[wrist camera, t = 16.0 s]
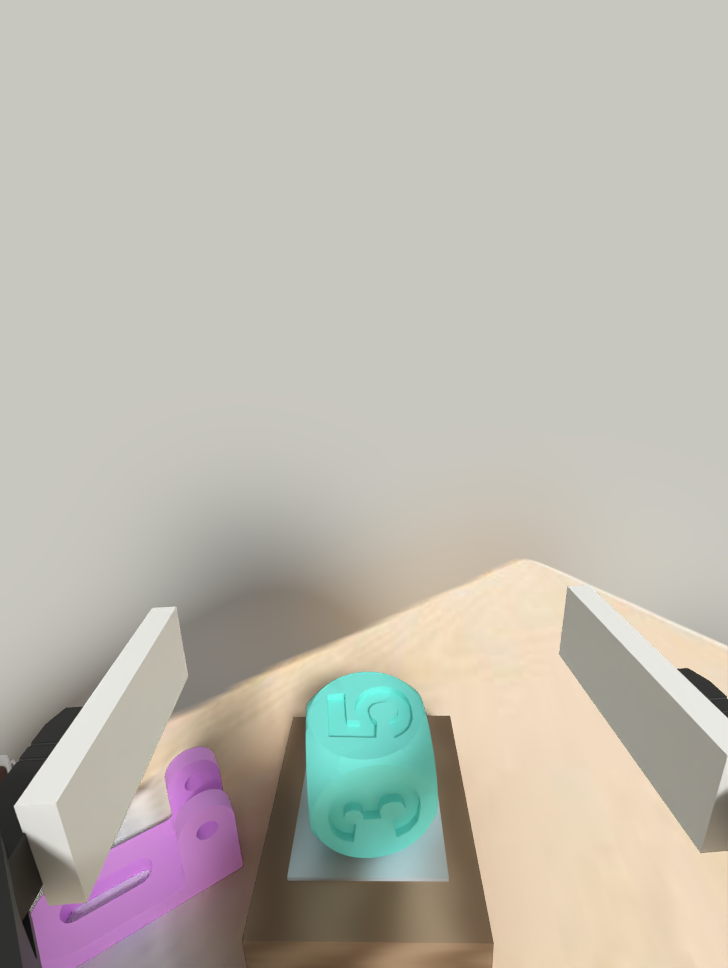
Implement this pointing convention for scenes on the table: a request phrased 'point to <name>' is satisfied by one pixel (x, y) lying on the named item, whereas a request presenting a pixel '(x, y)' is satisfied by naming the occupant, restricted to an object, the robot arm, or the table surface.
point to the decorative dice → (369, 765)
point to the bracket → (151, 867)
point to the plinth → (369, 884)
